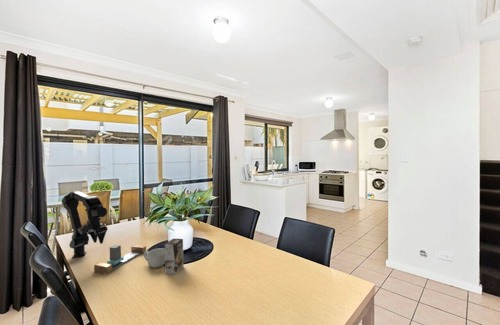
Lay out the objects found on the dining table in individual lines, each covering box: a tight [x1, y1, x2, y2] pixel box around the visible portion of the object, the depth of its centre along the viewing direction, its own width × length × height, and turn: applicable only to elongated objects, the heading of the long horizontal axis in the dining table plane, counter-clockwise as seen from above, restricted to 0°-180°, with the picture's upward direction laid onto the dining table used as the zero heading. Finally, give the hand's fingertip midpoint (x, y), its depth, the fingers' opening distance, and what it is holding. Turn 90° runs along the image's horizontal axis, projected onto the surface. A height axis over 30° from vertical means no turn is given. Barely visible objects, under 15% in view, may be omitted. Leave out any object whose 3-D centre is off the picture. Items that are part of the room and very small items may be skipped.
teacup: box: [143, 247, 165, 269], centre depth 139 cm, size 14×11×8 cm
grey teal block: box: [106, 244, 124, 265], centre depth 139 cm, size 7×5×9 cm
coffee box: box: [164, 238, 184, 275], centre depth 132 cm, size 9×6×16 cm
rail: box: [93, 244, 147, 275], centre depth 144 cm, size 30×9×4 cm, turn 164°
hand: (98, 243), depth 144 cm, fingers open, 9 cm apart
